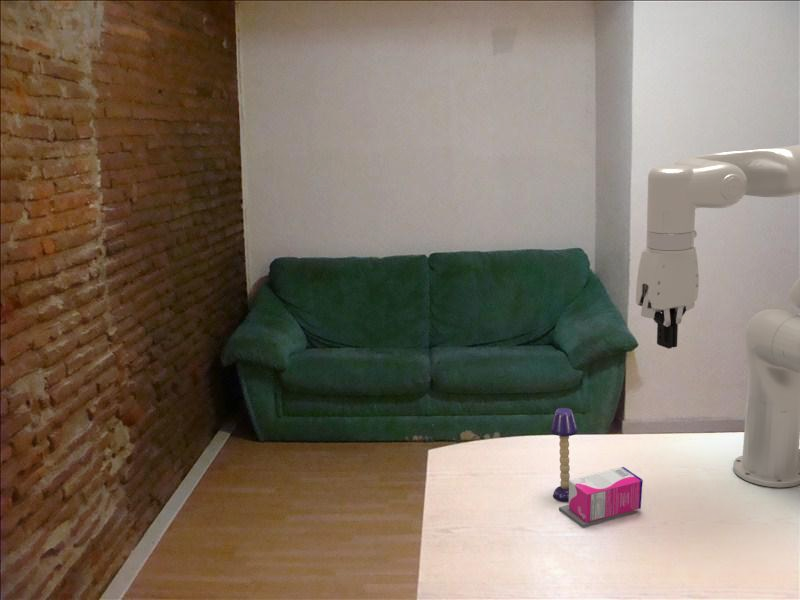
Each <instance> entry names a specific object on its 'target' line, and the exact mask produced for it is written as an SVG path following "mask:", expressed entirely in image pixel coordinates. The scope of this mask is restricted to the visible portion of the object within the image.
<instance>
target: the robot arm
mask: <svg viewBox="0 0 800 600" xmlns="http://www.w3.org/2000/svg"><path fill="white" fill-rule="evenodd" d="M797 195H800V144H796V145H789V146H780V147H772V148H758V149H750V150H739V151H726V152H715V153H707V154H700V155H693V156H687V157H683V158H681V159H679V160H677V161H676V162H675V163H674V164H665V165H658V166H655V167H652V168H651V169H650V171H649V172H648V177H647V209H646V210H647V212H646V216H647V217H646V247H645V249H642V252H641V254H640V259H639V263H638V269H637V276H636V288H635V290H636V291H635V303H636V305H637V306H640V307H641V310H640V316H641V317H644V318H646V319H653V321H654V323H655V324H657V328H656V344H657V345H658V346H661V347H663V348H666V349H669V350H670V349H672V348H677V347H678V330H679V328H678V327H679V325H680V324H681V323H682V320H683V316H684V315H685V313H686V312H688V311H690V310H692V309H694V308H695V302H696V301H697V300H698V297H699V283H700V282H699V280H700V279H699V277H700V276H699V262H698V255H697V249H696V247H695V238H696V237H697V235H698V234H697V231H696V230H695V220H696V209H701V208H703V209H724V208H729V207H731V206H734V205H735V204H737V203H739V202H740V201H741V199H743V198H744V196H748V197H749V196H751V197H760V198H787V197H794V196H797ZM788 300H789V304H790V306H791V307H792V308H793V309H794V310H795V311H797V312H798V313H799V314H796V313H793V312H790V311H787V310H783V309H777V308H776V309H775V308H768V309H763V310H761V311H759V312H757V313H755V314H754V315H753V316H752V317H751V319H749V322H748V324H747V326H746V328H745V329H746V330H745V335H744V336H745V337H744V338H745V339H744V342H745V343H744V344H745V349H746V356H747V365H748V366H747V369H748V371H747V372H748V373H747V377H748V378H747V391H746V392H747V393H746V405H745V416H744V417H745V419H744V433H743V445H742V455H740V456H738V457H736V458H735V459H734V461H733V463H732V464H733V465H732V466H733V467H732V469H733V472H734V473H735V474H736V475H737V476H738V477H740V478H741V479H742V480H745V481H747V482H749V483H752V484H755V485H758V486H762V487H769V488H770V487H771V488H791V487H795V486H798V485H800V276H798V278H797V279H796V280H795V281H794V283H793V284H792V286H791V288H790V289H789V293H788Z"/></svg>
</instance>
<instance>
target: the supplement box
mask: <svg viewBox="0 0 800 600" xmlns="http://www.w3.org/2000/svg"><path fill="white" fill-rule="evenodd" d="M643 483H644V480H643V479H642V478H641V477H639V476H638V475H636V474H635V473H633V472H632V471H630V470H629V469H627V468H626V467H624V466H622V467H617V468H614V469H609V470H605V471H600V472H597V473H593V474H588V475H584V476H580V477H576V478H572V479H569V502H568V504H569V509H570V510H571V511H573V512H574V513H575V514H576V515H578V516H579V517H580V518H581V519H583V520H584V521H585V522H586V523H588V522H592V521H595V520H599V519H603V518H607V517H611V516H615V515H618V514H622V513H626V512H630V511H634V510H635V511H637V510H641V509H642V494H643Z"/></svg>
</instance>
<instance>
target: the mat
mask: <svg viewBox="0 0 800 600" xmlns="http://www.w3.org/2000/svg"><path fill="white" fill-rule="evenodd" d="M558 511H559V512H561V513H562V514H563V515H565V516H566V517H568V518H569V519H571V520H572V521H573V522H574V523H576V524H577V525H579V526H580V527H582V528H583V529H585V528H589V527H592V526H595V525H598V524H601V523H604V522H608V521H611V520H614V519H618V518H620V517H624V516H627V515H630V514H634V513H636V510H634V511H630V512H626V513H622V514H618V515H615V516H611V517H607V518H603V519H599V520H595V521H592V522H588V523H586V522H585V521H584V520H583V519H581V518H580V517H579V516H578V515H576V514H575V513H574V512H573V511H571V510H570V509H569V503H568V504H565V505H561V506H559V507H558Z"/></svg>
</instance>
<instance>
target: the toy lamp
mask: <svg viewBox="0 0 800 600" xmlns="http://www.w3.org/2000/svg"><path fill="white" fill-rule="evenodd" d="M550 432H551V433H552V434H553V435H554V436H558V438H559V455H560V456H559V464H560V465H559V471H560V474H559V477H560V482H559V483H560V484H559V485H560V486H559V485H558V486H557V487H556V488H555V489H554V491H553V494H552V496H553V499H554V500H556V501H558V502H561V503H569V480H570V478H571V474H570V471H571V470H570V457H569V455H570V449H569V447H570V442H569V439H570V437H571V436H574V435H576V434H577V433H578V425H577V422H576V419H575V416H574V411H573V410H572V409H570V408H566V407H560V408H557V409H555V412H554V416H553V419H552V422H551V428H550Z"/></svg>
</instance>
